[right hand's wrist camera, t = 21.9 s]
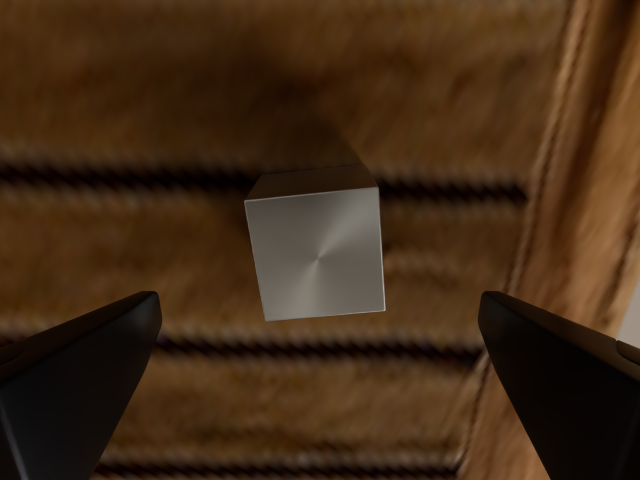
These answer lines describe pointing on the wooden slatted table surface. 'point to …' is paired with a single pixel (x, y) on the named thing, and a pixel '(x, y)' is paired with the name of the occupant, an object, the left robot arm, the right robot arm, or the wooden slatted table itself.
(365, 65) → the wooden slatted table surface
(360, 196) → the block
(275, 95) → the wooden slatted table surface
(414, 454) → the wooden slatted table surface
